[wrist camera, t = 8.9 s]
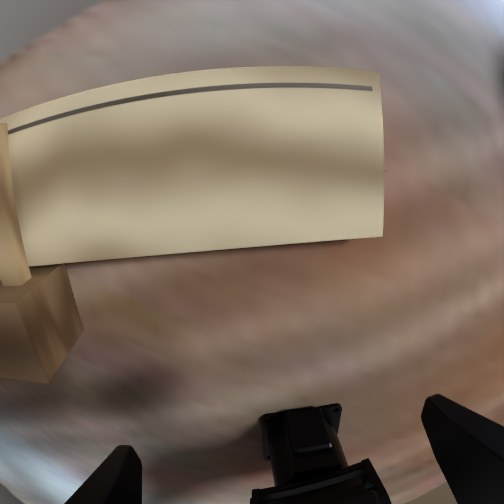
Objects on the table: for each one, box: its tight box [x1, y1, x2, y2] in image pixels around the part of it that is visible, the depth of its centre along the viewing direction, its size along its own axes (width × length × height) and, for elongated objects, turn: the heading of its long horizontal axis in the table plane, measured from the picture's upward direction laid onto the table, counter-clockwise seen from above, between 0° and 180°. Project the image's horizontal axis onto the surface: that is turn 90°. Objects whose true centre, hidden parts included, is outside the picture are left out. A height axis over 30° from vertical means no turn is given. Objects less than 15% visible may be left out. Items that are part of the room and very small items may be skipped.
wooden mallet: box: [0, 123, 84, 384], centre depth 14 cm, size 14×4×6 cm, turn 4°
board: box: [0, 66, 384, 266], centre depth 16 cm, size 9×24×2 cm, turn 94°
